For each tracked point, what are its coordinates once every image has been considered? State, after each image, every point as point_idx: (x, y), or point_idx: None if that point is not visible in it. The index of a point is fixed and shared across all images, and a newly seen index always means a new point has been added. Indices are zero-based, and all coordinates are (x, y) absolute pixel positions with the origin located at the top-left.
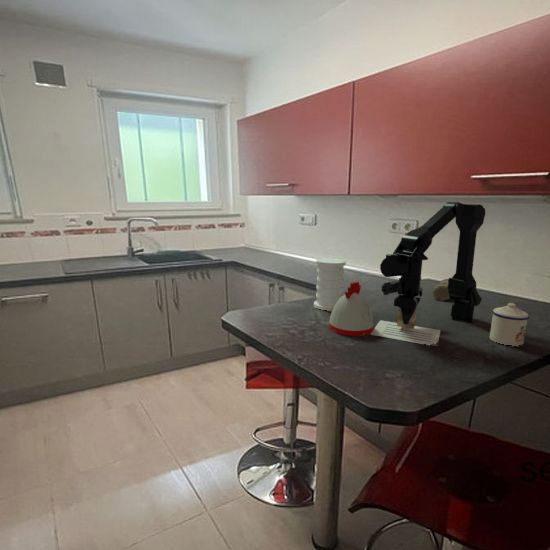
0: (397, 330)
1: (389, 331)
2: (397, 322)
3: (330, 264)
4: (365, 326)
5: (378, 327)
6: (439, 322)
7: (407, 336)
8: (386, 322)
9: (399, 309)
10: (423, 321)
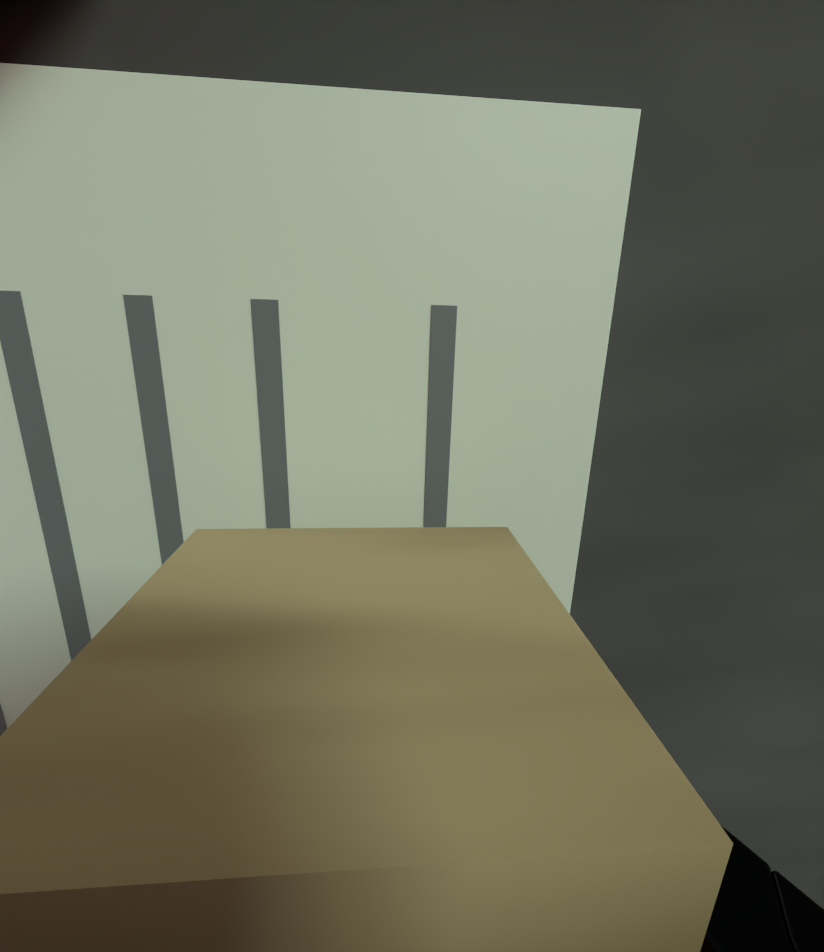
0: (208, 517)
1: (60, 404)
2: (159, 570)
3: None
4: None
5: (147, 149)
6: (809, 875)
7: (25, 684)
8: (547, 263)
9: (215, 886)
10: (801, 743)
